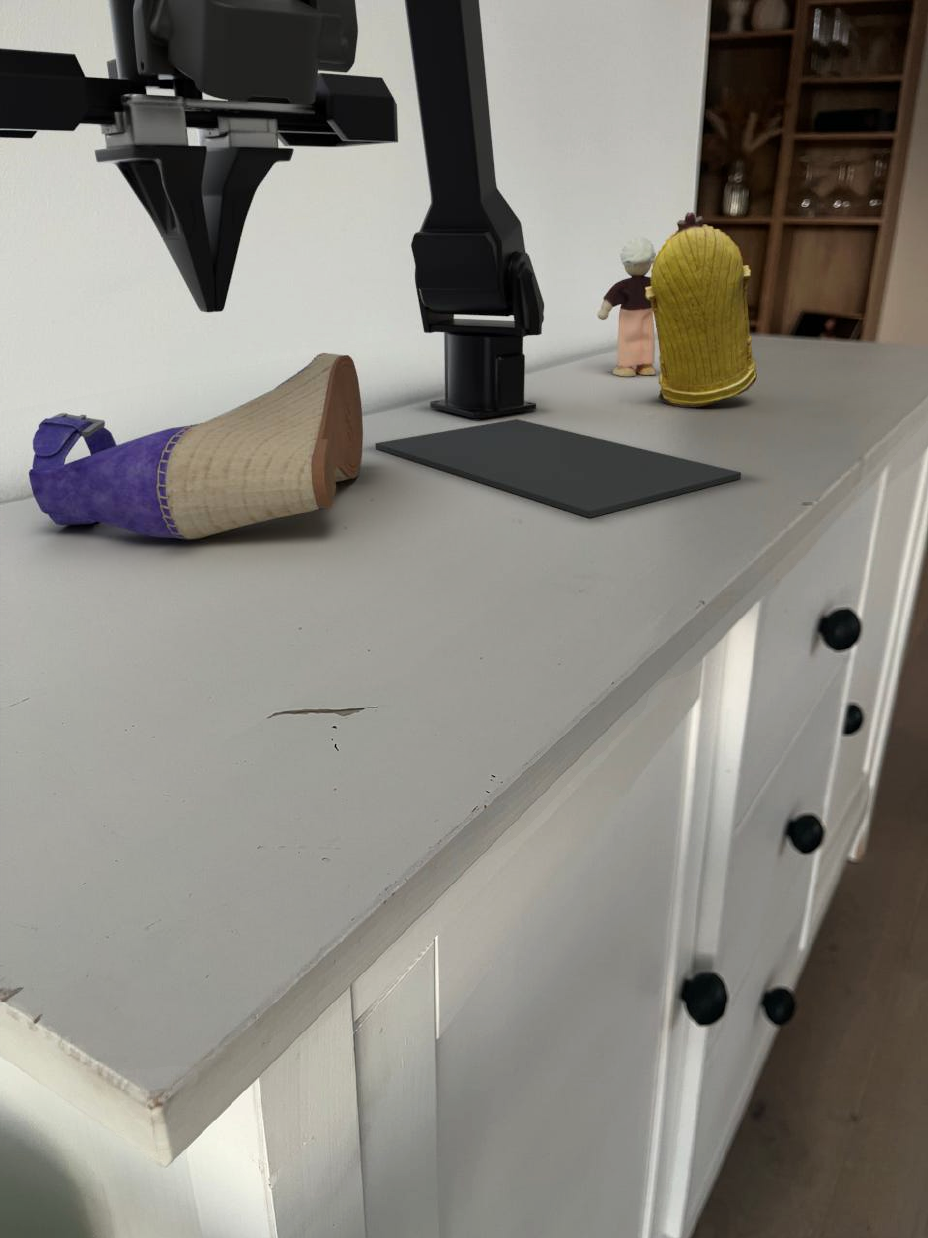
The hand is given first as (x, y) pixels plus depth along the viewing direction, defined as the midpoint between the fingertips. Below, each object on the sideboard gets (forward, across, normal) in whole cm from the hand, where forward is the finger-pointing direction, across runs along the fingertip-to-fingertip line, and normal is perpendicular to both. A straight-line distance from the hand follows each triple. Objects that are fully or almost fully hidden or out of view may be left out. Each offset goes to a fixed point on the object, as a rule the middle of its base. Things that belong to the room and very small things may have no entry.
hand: (211, 311), depth 46 cm
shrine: (+11, +45, +7) cm, 47 cm away
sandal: (+8, +8, +2) cm, 11 cm away
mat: (+11, +22, 0) cm, 25 cm away
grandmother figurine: (+12, +53, +22) cm, 59 cm away
